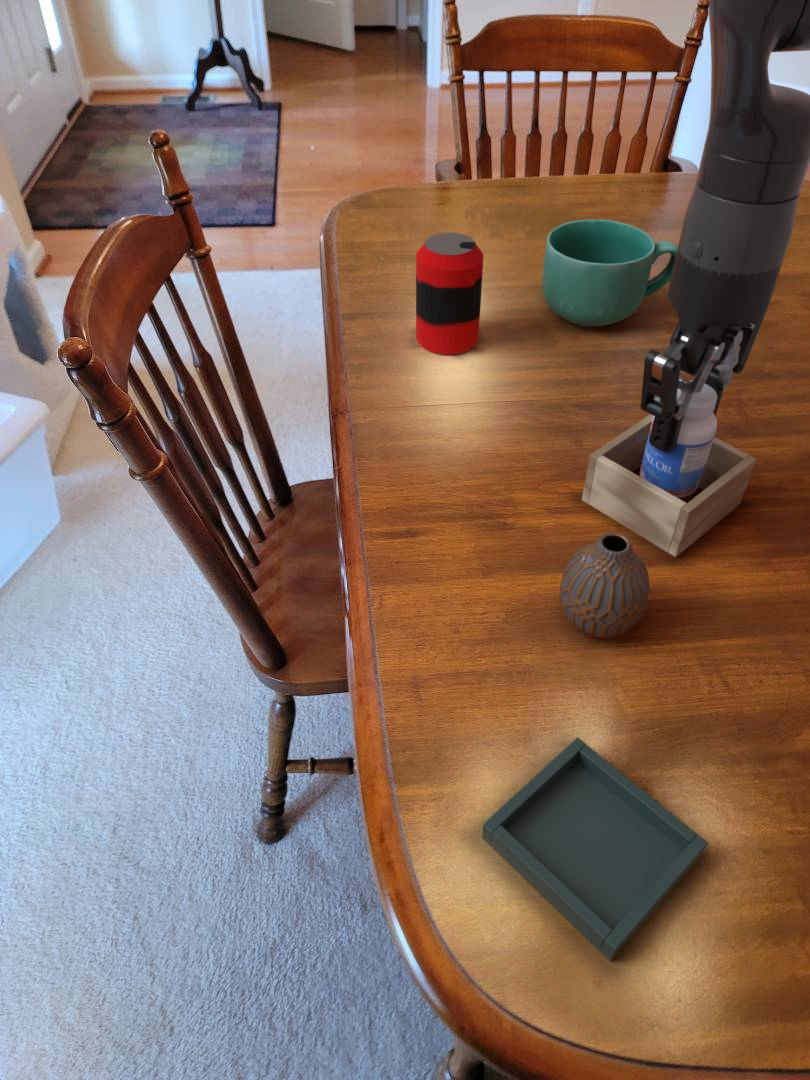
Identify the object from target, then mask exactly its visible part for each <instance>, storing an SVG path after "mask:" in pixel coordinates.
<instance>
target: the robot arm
mask: <svg viewBox="0 0 810 1080" xmlns="http://www.w3.org/2000/svg"><path fill="white" fill-rule="evenodd" d="M708 22H709V23H708V24H709V41H710V60H711V61H710V62H711V71H710V73H711V74H710V75H711V76H710V80H711V81H710V111H709V123H708V128H707V133H706V137H705V141H704V146H703V149H702V156H701V158H700V163H699V168H698V172H697V177H696V181H695V184H694V188H693V191H692V194H691V196H690V198H689V202H688V204H687V208H686V211H685V215H684V219H683V223H682V227H681V232H680V237H679V241H678V245H677V246H678V250H677V254H676V258H675V263H674V267H673V272H672V276H671V280H670V281H669V286H668V289H667V300H668V303H669V306H670V307H671V308H672V309H673V310H674V311H673V312H675V315H676V317H677V323H676V325H675V327H674V330H673V332H672V334H671V337H670V339H669V346H668V347H666V349H664V350H663V351H662V352H661V351H658V350H656V349H654V348H652V349H650V350H649V351H648V352H647V353H646V355H645V357H644V365H643V376H642V387H641V397H640V398H641V399H640V409H641V411H642V412H643V411H644V412H645V413H648V414H649V415H650V414H651V415H653V416H655V417H654V421H653V425H652V430H651V434H650V438H649V442H650V444H651V445H652V446H653V447H655V448H657V449H659V450H661V451H663V452H665V453H669V452H671V451H672V450H674V449H675V447H676V443H677V440H678V436H679V432H680V428H681V424H682V421H683V417H684V416H683V415H684V413H685V411H686V409H687V406H688V404H689V402H690V400H691V398H692V396H693V395H694V394H698V393H700V392H701V390H702V388H703V386H704V384H707V385H708V386H710V387H712V388H713V389H714V390H715V392H716V393H717V401H716V405H715V409H714V411H713V413H714V415H715V417H716V418H717V413H718V411H719V406H720V402H721V399H722V396H723V393H724V389H725V388H727V387H728V386H729V385H730V384H731V382H732V380H733V373H735V374H737V375H739V374H740V373H741V372H742V371H743V370H744V369H745V366H746V363H747V361H748V358H749V356H750V353H751V350H752V348H753V346H754V344H755V341H756V338H757V336H758V333H759V331H760V328H761V326H762V323H763V321H764V318H765V316H766V313H767V311H768V310H769V307H770V303H771V300H772V296H773V294H774V290H775V287H776V284H777V281H778V278H779V275H780V272H781V268H782V265H783V262H784V259H785V256H786V252H787V249H788V246H789V243H790V240H791V237H792V233H793V230H794V226H795V222H796V216H797V210H798V205H799V199H800V196H801V191H802V188H803V185H804V182H805V180H806V175H807V172H808V169H809V166H810V94H809V93H807V92H805V91H802V90H799V89H796V88H793V87H789V86H784V85H779V84H774V83H771V82H770V78H769V77H770V76H769V62H770V57H771V54H772V53H786V52H787V53H788V52H806V51H807V52H809V51H810V0H708ZM683 373H684V374H687V375H689V376H691V377H693V379H692V380H693V381H690V380H691V379H687V378H685V377H683V376H682V375H683ZM678 389H680V390H681V395H680V397H679V400H678V402H676V397H677V390H678Z"/></svg>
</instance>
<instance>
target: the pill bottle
mask: <svg viewBox="0 0 810 1080" xmlns="http://www.w3.org/2000/svg"><path fill="white" fill-rule="evenodd" d="M689 380H690V381H693V379H689ZM680 395H681V390H680V389H678V390H677V397H676V402H678V400H679V397H680ZM716 401H717V393H716V392H715V390H714V389H713V388H712V387H710V386H708V385H707V384H704V386H703V388H702V390H701V392H700V393H698V394H694V395H693V396H692V398H691V400H690V402H689V404H688V406H687V409H686V411H685V413H684V415H683V416H684V417H683V421H682V424H681V428H680V432H679V436H678V440H677V443H676V447H675V449H674V450H672V451H671V452H669V453H665V452H663V451H661V450H659V449H657V448H655V447H653V446H652V445H651V444H650V442H649V438H650V434H651V430H652V425H653V421H654V417H655V416H653V420H652V423H651V428H650V432H649V436H648V440H647V445H646V449H645V452H644V457H643V461H642V464H641V466H640V470H639V476H640V477H641V478H643V479H645V480H647V481H649V482H650V483H652V484H654V485H656V486H657V487H659V488H661V489H663V490H664V491H666V492H668V493H670V494H671V495H673V496H675V497H677V498H678V499H681V498H685V497H688V496H690V495H692V494H694V493H695V492H696V490H697V489H698V488H699V487H698V486H699V483H700V480H701V477H702V474H703V471H704V468H705V465H706V462H707V458H708V455H709V452H710V449H711V446H712V443H713V440H714V437H715V436H716V433H717V428H718V420H717V416H716V417H715V415H714V413H713V411H714V409H715V405H716Z"/></svg>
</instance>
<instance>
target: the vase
mask: <svg viewBox="0 0 810 1080" xmlns="http://www.w3.org/2000/svg"><path fill="white" fill-rule="evenodd" d="M650 587H651V585H650V576H649V571H648V569H647V566H646V564H645V562H644V560H643V559H642V558H641V556H640V555H639V554H638V552H637V551H636V550H635V549H634V548H633V545H632V542H631V540H630V539H629V538H628V537H627V536H626V535H625V534H622V533H620V532H616V531H610V532H605V533H603V534H601V535H600V536H599V537H598V539H597V540H594V541H592V542H590V543H587V544H584V545H583V546H582V547H580V548H579V549H578V550H577V551H576V552H574V554H573V555H572V556H571V558H569V560H568V561H567V563H566V565H565V567H564V569H563V572H562V574H561V578H560V583H559V599H560V605H561V608H562V611H563V613H564V615H565V617H566V619H567V620H568V622H569V623H570V624H572V626H573V627H574V628H575V629H577V630H578V631H579V632H582V633H583V634H585V635H587V636H591V637H595V638H600V639H601V638H602V639H603V638H612V637H613V638H614V637H616V636H620V635H622V634H625V633H626V632H627V631H628V630H630V629H631V628H632V627H634V626H635V625H636V624H637V622H638V621H639V620H640V619H641V617H642V616H643V614H644V612H645V610H646V607H647V605H648V601H649V598H650V589H651V588H650Z"/></svg>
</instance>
